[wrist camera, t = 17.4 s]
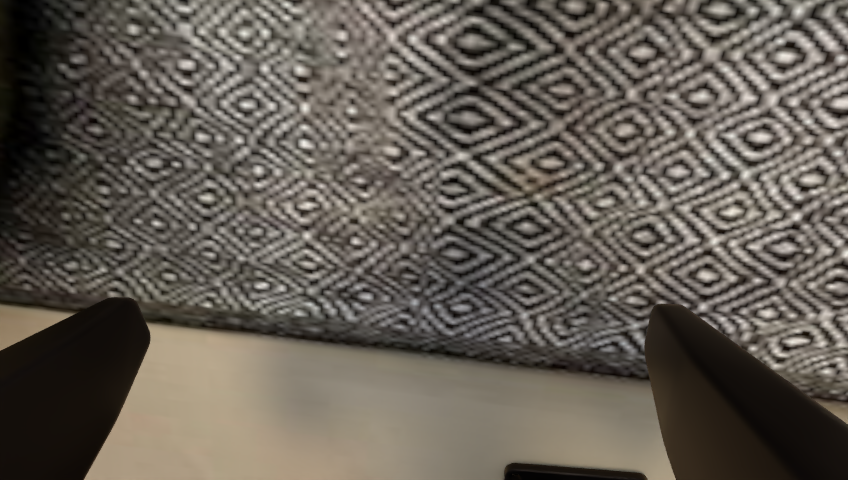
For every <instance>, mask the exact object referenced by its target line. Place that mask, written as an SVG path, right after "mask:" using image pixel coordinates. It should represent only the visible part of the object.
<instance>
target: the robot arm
mask: <svg viewBox="0 0 848 480" xmlns="http://www.w3.org/2000/svg"><path fill="white" fill-rule="evenodd" d="M149 344H150V331H149V329H148V326H147V324H146V322H145V320H144V317H143V315H142V313H141V310H140V308H139V306H138V304H137V302H136V301H135V300H134V299H132V298H120V297H113V298H107V299H105V300H103V301H101V302H99V303H97V304H95V305H93V306H91V307H89V308H87V309H85V310H83V311H81V312H79V313H77V314H74V315H72V316H70V317H68V318H66V319H64V320H62V321H60V322H58V323H56V324H54V325H52V326H50V327H48V328H46V329H44V330H42V331H40V332H38V333H36V334H34V335H32V336H30V337H28V338H26V339H24V340H22V341H20V342H17V343H15V344H13V345H11V346H9V347H7V348H5V349H3V350H1V351H0V480H84V478H85V477H86V475H87V473H88V471H89V469H90V468H91V466H92V464H93V462H94V460H95V459H96V457H97V455H98V453H99V451H100V450H101V448H102V446H103V444H104V442H105V441H106V439H107V437H108V435H109V433H110V432H111V430H112V428H113V426H114V424H115V422H116V420H117V418H118V416H119V414H120V411H121V409H122V407H123V405H124V403H125V400H126V398H127V396H128V393H129V391H130V389H131V386H132V384H133V382H134V379H135V377H136V375H137V373H138V370H139V368H140V366H141V363H142V361H143V359H144V356H145V354H146V352H147V349H148V347H149ZM644 349H645V358H646V363H647V368H648V372H649V377H650V382H651V387H652V391H653V396H654V401H655V405H656V410H657V415H658V420H659V424H660V429H661V433H662V437H663V442H664V445H665V448H666V451H667V455H668V458H669V461H670V464H671V466H672V469H673V472H674V475H675V478H676V480H848V424H846V423H845V422H844V421H842V420H841V419H839V418H838V417H837V416H835V415H834V414H832V413H831V412H830V411H828V410H827V409H826V408H824V407H823V406H821V405H820V404H819V403H817V402H816V401H815V400H813V399H812V398H810V397H809V396H808V395H806V394H805V393H803V392H802V391H801V390H799V389H798V388H797V387H795V386H794V385H792V384H791V383H790V382H788V381H787V380H785V379H784V378H783V377H781V376H780V375H779V374H777V373H776V372H774V371H773V370H772V369H770V368H769V367H767V366H766V365H765V364H763V363H762V362H761V361H759V360H758V359H756V358H755V357H754V356H752V355H751V354H749V353H748V352H747V351H745V350H744V349H743V348H741V347H740V346H738V345H737V344H736V343H734V342H733V341H731V340H730V339H729V338H727V337H726V336H725V335H723V334H722V333H720V332H719V331H718V330H716V329H715V328H714V327H712V326H711V325H709V324H708V323H707V322H705V321H704V320H702V319H701V318H700V317H698V316H697V315H696V314H694V313H693V312H691V311H690V310H689V309H687V308H686V307H684V306H682V305H679V304H657V305H655V306H654V307H653V309H652V311H651V316H650V320H649V325H648V330H647V334H646V339H645V346H644ZM515 473H516V474H519V475H512V474H515ZM505 480H648V479H647V478H646V476H645V475H643V474H641V473H634V472H621V471H609V470H596V469H584V468H571V467H558V466H546V465H533V464H521V463H511V464H509V465H507V466H506V468H505Z"/></svg>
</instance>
